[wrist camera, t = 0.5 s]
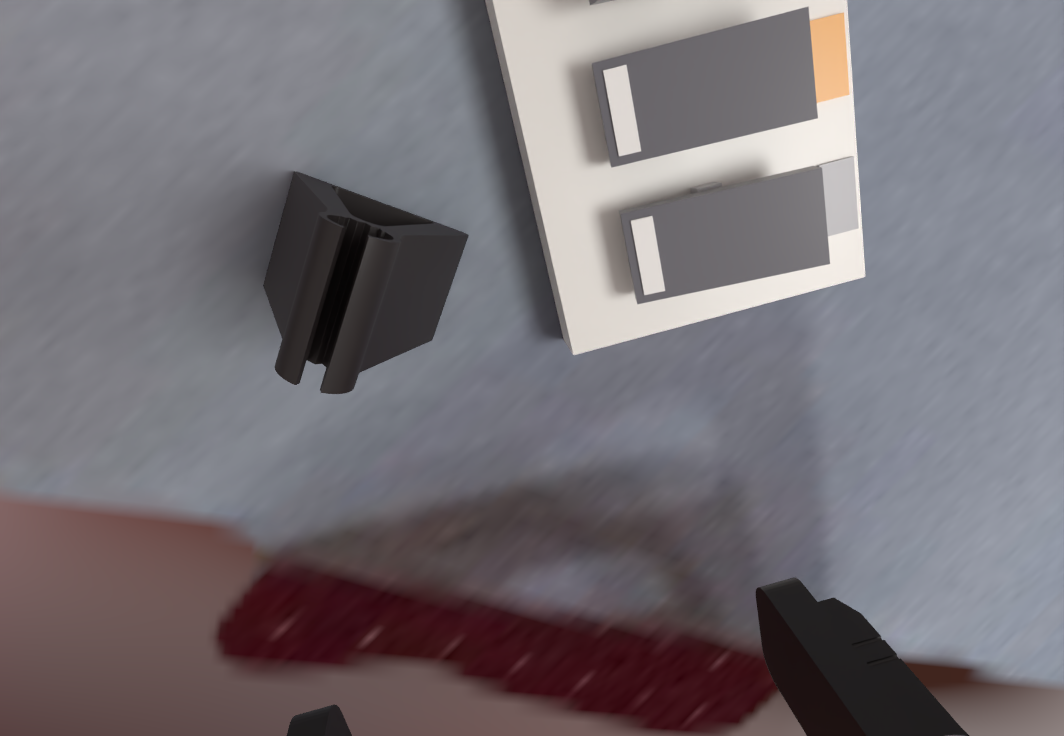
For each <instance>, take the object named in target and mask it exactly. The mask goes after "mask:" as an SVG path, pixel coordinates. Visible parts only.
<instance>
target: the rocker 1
mask: <svg viewBox="0 0 1064 736" xmlns="http://www.w3.org/2000/svg"><path fill="white" fill-rule="evenodd" d="M609 1H614V0H589V3H590V5H595V4H600V3H604V2H609Z"/></svg>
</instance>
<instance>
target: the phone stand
mask: <svg viewBox="0 0 1064 736" xmlns="http://www.w3.org/2000/svg"><path fill="white" fill-rule="evenodd" d="M467 238H468V234H466V233H463V232H461V231H458V230H455V229H452V228H450V227H447V226H444V225H441V224H439V223H436V222H433V221H431V220H428V219H425V218H422V217H420V216H417V215H414V214H411V213H409V212H406V211H403V210H401V209H398V208H395V207H392V206H390V205H386V204H383V203H381V202H379V201H376V200H373V199H370V198H368V197H365V196H362V195H360V194H357V193H354V192H351V191H349V190H346V189H343V188H340V187H338V186H335V185H332V184H330V183H327V182H324V181H321V180H319V179H316V178H313V177H310V176H308V175H305V174H302V173H299V172H295V171H294V174H293V178H292V182H291V185H290V189H289V193H288V196H287V200H286V204H285V207H284V211H283V215H282V218H281V222H280V226H279V229H278V233H277V237H276V240H275V244H274V248H273V251H272V255H271V259H270V262H269V266H268V270H267V273H266V277H265V281H264V285H263V286H264V289H265V292H266V294H267V297H268V300H269V303H270V306H271V308H272V311H273V314H274V317H275V319H276V322H277V325H278V328H279V331H280V333H281V336H282V343H281V346H280V350H279V353H278V357H277V360H276V364H275V370H276V372H277V373H278V374H279V375H280V376H281V377H282V378H283V379H285V380H287V381H288V382H290V383H292V384H294V385H297V384H299V383H300V380H301V376H302V373H303V370H304V366H305V363H306V360H308V361H310V362H312V363H314V364H323V365H324V366H326V367H327V368H326V371H325V375H324V378H323V381H322V384H321V388H320V391H321V393H328V394H342V393H347V392H350V391H352V390H353V389H354V386H355V383H356V380H357V377H358V374H359V373H360V372H362V371H364V370H366V369H368V368H371V367H373V366H375V365H377V364H380V363H382V362H384V361H386V360H389V359H391V358H393V357H395V356H398V355H400V354H402V353H404V352H407V351H409V350H411V349H413V348H416V347H418V346H420V345H422V344H425V343H427V342H429V341H431V340H432V339H433V336H434V333H435V330H436V327H437V325H438V322H439V319H440V316H441V313H442V310H443V307H444V304H445V302H446V299H447V296H448V293H449V290H450V287H451V284H452V281H453V279H454V276H455V273H456V270H457V267H458V264H459V261H460V258H461V256H462V253H463V250H464V247H465V244H466V241H467Z"/></svg>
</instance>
